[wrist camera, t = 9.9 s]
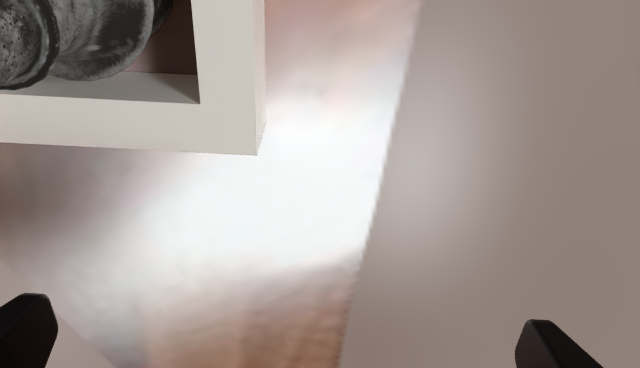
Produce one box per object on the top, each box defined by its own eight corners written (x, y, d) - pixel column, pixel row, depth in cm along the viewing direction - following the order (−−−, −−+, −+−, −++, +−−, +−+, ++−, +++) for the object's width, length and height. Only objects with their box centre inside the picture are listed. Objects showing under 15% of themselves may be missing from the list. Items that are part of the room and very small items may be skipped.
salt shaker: (-4, -111, 17) (-518, -95, 7) (160, -128, 16) (-123, -140, 6) (58, 56, 20) (-230, 239, 10) (198, 45, 20) (48, 223, 9)
